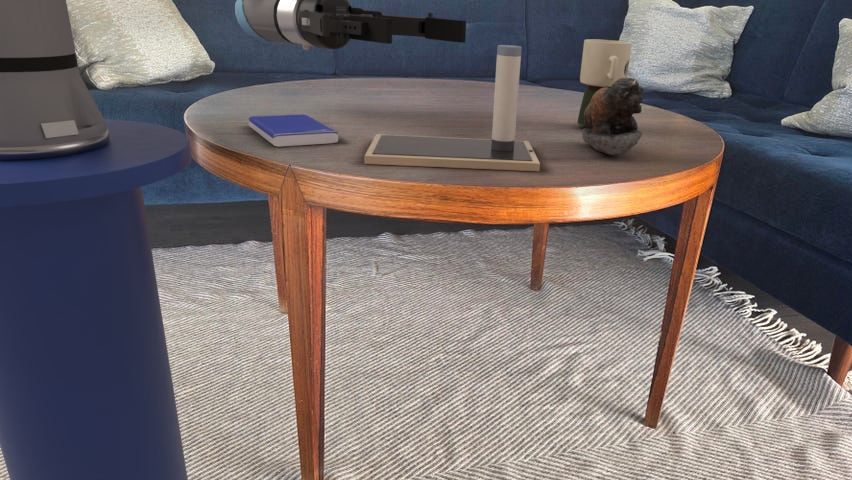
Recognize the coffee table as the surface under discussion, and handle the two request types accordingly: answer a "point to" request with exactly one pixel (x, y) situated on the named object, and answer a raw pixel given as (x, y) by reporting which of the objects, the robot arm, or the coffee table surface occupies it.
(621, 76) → the character mug
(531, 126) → the coffee table surface
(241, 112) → the coffee table surface
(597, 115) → the bison figurine
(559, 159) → the coffee table surface
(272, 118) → the blue book
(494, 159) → the tablet
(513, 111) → the stylus
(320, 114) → the coffee table surface
